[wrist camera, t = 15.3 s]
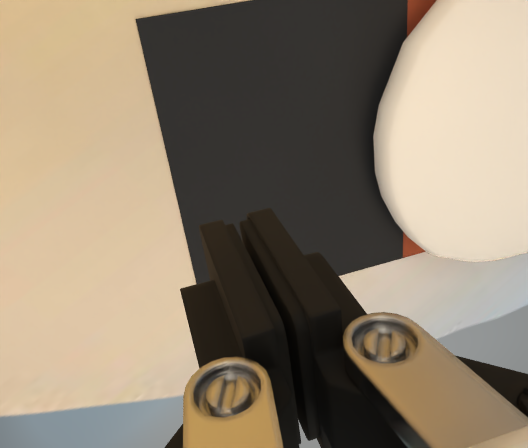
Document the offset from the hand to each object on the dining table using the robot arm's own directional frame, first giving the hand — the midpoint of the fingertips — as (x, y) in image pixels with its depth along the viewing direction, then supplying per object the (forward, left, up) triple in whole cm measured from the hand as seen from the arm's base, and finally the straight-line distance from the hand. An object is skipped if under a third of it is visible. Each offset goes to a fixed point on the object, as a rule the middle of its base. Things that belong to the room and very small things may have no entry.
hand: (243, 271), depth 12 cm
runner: (+9, +20, -27) cm, 35 cm away
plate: (+9, +30, -27) cm, 41 cm away
